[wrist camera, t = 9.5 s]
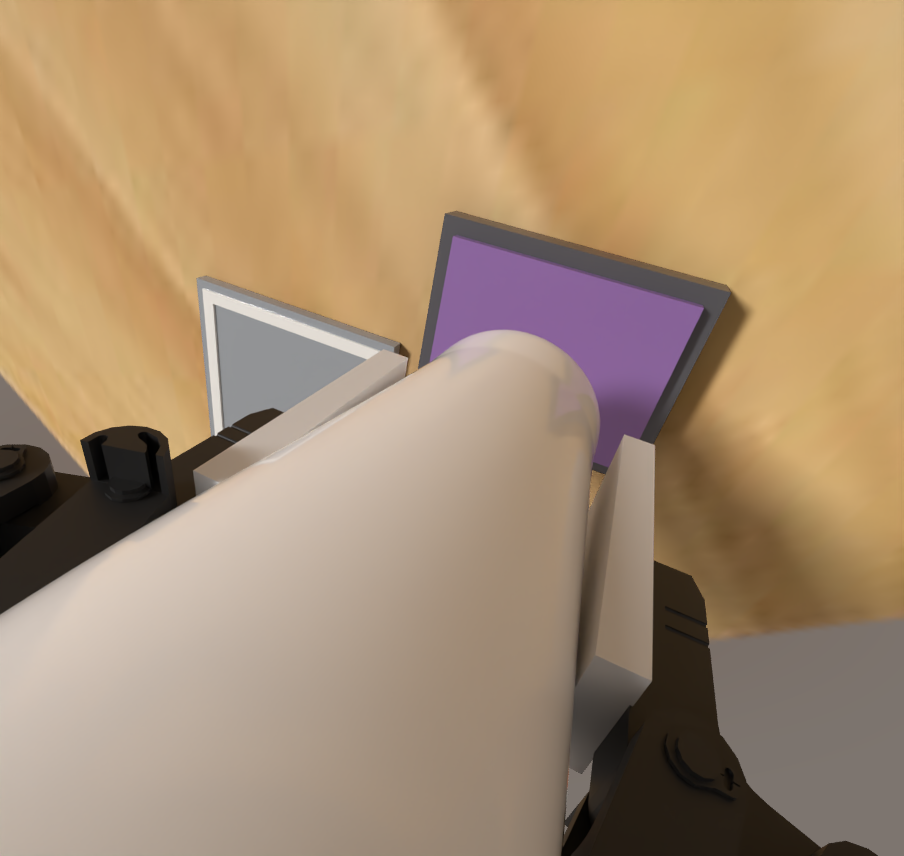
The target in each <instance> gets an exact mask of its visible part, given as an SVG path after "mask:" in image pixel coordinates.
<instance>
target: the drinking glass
mask: <svg viewBox="0 0 904 856" xmlns="http://www.w3.org/2000/svg"><path fill="white" fill-rule="evenodd" d="M599 434H600V412H599V406H598V401H597V398H596V395H595V392H594V390H593V387H592V385H591V383H590V381H589V380H588V378H587V376H586V375H585V373H584V372H583V370H582V369H581V367H580V366H579V365H578V364H577V363H576V362H575V361H574V360H573V359H572V358H571V357H570V356H569V355H568V354H567V353H566V352H565V351H563V350H562V349H561V348H559V347H558V346H556V345H555V344H553V343H551V342H549V341H548V340H546V339H544V338H541V337H539V336H536V335H533V334H530V333H527V332H522V331H517V330H489V331H484V332H480V333H476V334H473V335H470V336H468V337H466V338H463V339H462V340H460V341H458V342H456V343H455V344H453V345H452V346H450V347H449V348H448V349H446V350H445V351H444V352H442V353H441V354H440V355H439V356H437V357H436V358H435V359H434V360H432V361H431V362H430V363H428V364H426V365H425V366H423V367H421V368H420V369H418V370H416V371H415V372H413V373H411V374H410V375H408V376H406V377H404V378H403V379H401V380H399V381H398V382H396V383H394V384H392V385H391V386H389V387H387V388H386V389H384V390H382V391H380V392H379V393H377V394H375V395H373V396H372V397H370V398H368V399H367V400H365V401H363V402H361V403H360V404H358V405H356V406H354V407H353V408H351V409H349V410H347V411H346V412H344V413H342V414H340V415H339V416H337V417H335V418H333V419H332V420H330V421H328V422H326V423H325V424H323V425H321V426H319V427H317V428H316V429H314V430H312V431H310V432H309V433H307V434H305V435H303V436H302V437H300V438H298V439H296V440H294V441H293V442H291V443H289V444H287V445H286V446H284V447H282V448H280V449H278V450H277V451H275V452H273V453H271V454H270V455H268V456H266V457H264V458H263V459H261V460H259V461H257V462H255V463H254V464H252V465H250V466H248V467H247V468H245V469H243V470H241V471H240V472H238V473H236V474H234V475H233V476H231V477H229V478H227V479H225V480H224V481H222V482H220V483H218V484H217V485H215V486H213V487H211V488H210V489H208V490H206V491H204V492H202V493H201V494H199V495H197V496H195V497H194V498H192V499H190V500H188V501H187V502H185V503H183V504H181V505H180V506H178V507H176V508H175V509H173V510H171V511H169V512H168V513H166V514H164V515H162V516H161V517H159V518H157V519H156V520H154V521H152V522H150V523H149V524H147V525H145V526H143V527H142V528H140V529H138V530H137V531H135V532H133V533H131V534H130V535H128V536H126V537H124V538H123V539H121V540H119V541H118V542H116V543H114V544H113V545H111V546H109V547H108V548H106V549H104V550H103V551H101V552H99V553H98V554H96V555H95V556H93V557H91V558H90V559H88V560H86V561H85V562H83V563H81V564H80V565H78V566H76V567H75V568H73V569H71V570H70V571H68V572H66V573H65V574H63V575H61V576H60V577H58V578H57V579H55V580H53V581H52V582H50V583H49V584H47V585H45V586H44V587H42V588H41V589H39V590H38V591H36V592H34V593H33V594H31V595H30V596H28V597H26V598H25V599H23V600H22V601H20V602H18V603H17V604H15V605H14V606H12V607H11V608H9V609H7V610H6V611H4V612H3V613H1V614H0V856H562V851H563V839H564V827H565V814H566V802H567V790H568V778H569V766H570V752H571V739H572V725H573V711H574V698H575V684H576V670H577V656H578V642H579V628H580V615H581V601H582V588H583V575H584V562H585V549H586V536H587V524H588V512H589V500H590V489H591V478H592V468H593V462H594V458H595V453H596V449H597V445H598V440H599Z"/></svg>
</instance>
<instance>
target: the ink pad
mask: <svg viewBox="0 0 904 856" xmlns="http://www.w3.org/2000/svg"><path fill="white" fill-rule="evenodd" d="M730 294H731V291H730V290H729V288H728V286H727V285H724V284H720V283H717V282H713V281H709V280H706V279H702V278H698V277H695V276H691V275H687V274H684V273H680V272H676V271H673V270H669V269H666V268H662V267H658V266H655V265H651V264H647V263H644V262H640V261H636V260H633V259H629V258H626V257H622V256H618V255H615V254H611V253H607V252H604V251H600V250H596V249H593V248H589V247H585V246H582V245H578V244H575V243H571V242H567V241H564V240H560V239H556V238H553V237H549V236H545V235H542V234H538V233H534V232H531V231H527V230H524V229H520V228H516V227H513V226H509V225H505V224H502V223H498V222H494V221H491V220H487V219H483V218H480V217H476V216H473V215H469V214H465V213H462V212H458V211H455V212H450V213H445V216H444V222H443V228H442V234H441V239H440V245H439V251H438V257H437V262H436V268H435V274H434V280H433V286H432V291H431V297H430V303H429V309H428V314H427V320H426V326H425V332H424V337H423V343H422V349H421V355H420V360H419V366H418V369H420V368H421V367H423V366H425V365H426V364H428V363H430V362H431V361H432V360H434V359H435V358H436V357H437V356H439V355H440V354H441V353H442V352H444V351H445V350H446V349H448V348H449V347H450V346H452V345H453V344H455V343H456V342H458V341H460V340H462V339H463V338H466V337H468V336H470V335H473V334H476V333H480V332H484V331H489V330H517V331H522V332H527V333H530V334H533V335H536V336H539V337H541V338H544V339H546V340H548V341H549V342H551V343H553V344H555V345H556V346H558V347H559V348H561V349H562V350H563V351H565V352H566V353H567V354H568V355H569V356H570V357H571V358H572V359H573V360H574V361H575V362H576V363H577V364H578V365H579V366H580V367H581V369H582V370H583V372H584V373H585V375H586V376H587V378H588V380H589V381H590V383H591V385H592V387H593V390H594V392H595V395H596V398H597V401H598V406H599V412H600V434H599V440H598V445H597V449H596V453H595V458H594V462H593V468H592V470H595V471H597V472H600V473H603V474H606V472H607V470H608V468H609V466H610V464H611V462H612V460H613V458H614V455H615V453H616V451H617V449H618V447H619V445H620V443H621V440H622V438H623V436H624V434H625V435H628V436H630V437H633V438H636V439H639V440H642V441H644V442H647V443H650V444H654V442H655V440H656V438H657V436H658V434H659V432H660V430H661V428H662V426H663V424H664V422H665V420H666V418H667V417H668V415H669V413H670V411H671V409H672V407H673V405H674V403H675V401H676V399H677V397H678V395H679V393H680V391H681V389H682V387H683V385H684V384H685V382H686V380H687V378H688V376H689V374H690V372H691V370H692V368H693V366H694V364H695V362H696V360H697V358H698V356H699V354H700V352H701V351H702V349H703V347H704V345H705V343H706V341H707V339H708V337H709V335H710V333H711V331H712V329H713V327H714V325H715V323H716V321H717V319H718V318H719V316H720V314H721V312H722V310H723V308H724V306H725V304H726V302H727V300H728V298H729V296H730Z"/></svg>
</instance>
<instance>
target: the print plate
mask: <svg viewBox="0 0 904 856" xmlns="http://www.w3.org/2000/svg"><path fill="white" fill-rule="evenodd" d="M197 288H198V298H199V309H200V320H201V331H202V342H203V353H204V363H205V374H206V385H207V396H208V407H209V418H210V428H211V436H213V435H214V436H216V435H217V433H218V432H220V431H222V430H223V429H225V428H227V427H228V426H229V427H231V426H232V424H234V423H235V422H237V421H239V420H240V419H242V418H244V417H245V416H247V415H249V414H251V413H255V412H259V411H262V410H266V409H270V408H275V409H277V410H280V411H282V412H286V411H287V410H289V409H290V408H292V407H294V406H295V405H297V404H298V403H300V402H301V401H303V400H305V399H306V398H308V397H309V396H311V395H312V394H314V393H316V392H317V391H319V390H320V389H322V388H323V387H325V386H327V385H328V384H330V383H331V382H333V381H334V380H336V379H338V378H339V377H341V376H342V375H344V374H345V373H347V372H349V371H350V370H352V369H353V368H355V367H356V366H358V365H360V364H361V363H363V362H364V361H366V360H367V359H369V358H371V357H372V356H374V355H375V354H377V353H378V352H380V351H382V350H383V349H385V350H387V351H390V352H393V353H396V354H399V350H400V343H398V342H396V341H393V340H390V339H387V338H384V337H381V336H378V335H375V334H372V333H370V332H367V331H364V330H361V329H358V328H355V327H352V326H349V325H347V324H344V323H341V322H338V321H335V320H332V319H329V318H326V317H324V316H321V315H318V314H315V313H312V312H309V311H306V310H303V309H300V308H298V307H295V306H292V305H289V304H286V303H283V302H280V301H277V300H275V299H272V298H269V297H266V296H263V295H260V294H257V293H254V292H252V291H249V290H246V289H243V288H240V287H237V286H234V285H231V284H228V283H226V282H223V281H220V280H217V279H214V278H211V277H208V276H203V277H198V278H197Z"/></svg>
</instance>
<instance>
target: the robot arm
mask: <svg viewBox="0 0 904 856" xmlns="http://www.w3.org/2000/svg"><path fill="white" fill-rule="evenodd" d="M407 361H408V358H407V357H404V356H402V355H399V354H396V353H393V352H390V351H387V350H385V349H383V350H382V351H380V352H378V353H377V354H375V355H374V356H372V357H371V358H369V359H367V360H366V361H364V362H363V363H361V364H360V365H358V366H356V367H355V368H353V369H352V370H350V371H349V372H347V373H345V374H344V375H342V376H341V377H339V378H338V379H336V380H334V381H333V382H331V383H330V384H328V385H327V386H325V387H323V388H322V389H320V390H319V391H317V392H316V393H314V394H312V395H311V396H309V397H308V398H306V399H305V400H303V401H301V402H300V403H298V404H297V405H295V406H294V407H292V408H290V409H289V410H287V411H286V412H282V411H280V410H277V409H275V408H270V409H266V410H262V411H259V412H255V413H251V414H249V415H247V416H245V417H244V418H242V419H240V420H239V421H237V422H235V423H234V424H232V426H231V427H229V426H228V427H227V428H225V429H223V430H222V431H220V432H218V433H217V435H216V436H214V435H213V436H211V437H210V438H208V439H206V440H205V441H203V442H201V443H199V444H198V445H196V446H194V447H193V448H191V449H189V450H188V451H186V452H184V453H182V454H181V455H179V456H177V457H176V458H174V459H172V460H171V458H170V451H169V444H168V438H167V437H165V436H164V435H163V434H162V433H161V432H160V431H157V430H154V429H151V428H148V427H140V426H122V427H112V428H109V429H105V430H102V431H98V432H95V433H93V434H91V435H89V436H87V437H85V438H84V439H82V440H80V441H81V445H82V449H83V452H84V456H85V460H86V464H87V468H88V471H89V475H90V477H84V476H77V475H71V474H65V473H58V472H54V469H53V466H52V463H51V460H50V457H49V454H48V453H47V452H45V451H44V450H43V449H41V448H39V447H35V446H30V445H2V446H0V614H1V613H3V612H4V611H6V610H7V609H9V608H11V607H12V606H14V605H15V604H17V603H18V602H20V601H22V600H23V599H25V598H26V597H28V596H30V595H31V594H33V593H34V592H36V591H38V590H39V589H41V588H42V587H44V586H45V585H47V584H49V583H50V582H52V581H53V580H55V579H57V578H58V577H60V576H61V575H63V574H65V573H66V572H68V571H70V570H71V569H73V568H75V567H76V566H78V565H80V564H81V563H83V562H85V561H86V560H88V559H90V558H91V557H93V556H95V555H96V554H98V553H99V552H101V551H103V550H104V549H106V548H108V547H109V546H111V545H113V544H114V543H116V542H118V541H119V540H121V539H123V538H124V537H126V536H128V535H130V534H131V533H133V532H135V531H137V530H138V529H140V528H142V527H143V526H145V525H147V524H149V523H150V522H152V521H154V520H156V519H157V518H159V517H161V516H162V515H164V514H166V513H168V512H169V511H171V510H173V509H175V508H176V507H178V506H180V505H181V504H183V503H185V502H187V501H188V500H190V499H192V498H194V497H195V496H197V495H199V494H201V493H202V492H204V491H206V490H208V489H210V488H211V487H213V486H215V485H217V484H218V483H220V482H222V481H224V480H225V479H227V478H229V477H231V476H233V475H234V474H236V473H238V472H240V471H241V470H243V469H245V468H247V467H248V466H250V465H252V464H254V463H255V462H257V461H259V460H261V459H263V458H264V457H266V456H268V455H270V454H271V453H273V452H275V451H277V450H278V449H280V448H282V447H284V446H286V445H287V444H289V443H291V442H293V441H294V440H296V439H298V438H300V437H302V436H303V435H305V434H307V433H309V432H310V431H312V430H314V429H316V428H317V427H319V426H321V425H323V424H325V423H326V422H328V421H330V420H332V419H333V418H335V417H337V416H339V415H340V414H342V413H344V412H346V411H347V410H349V409H351V408H353V407H354V406H356V405H358V404H360V403H361V402H363V401H365V400H367V399H368V398H370V397H372V396H373V395H375V394H377V393H379V392H380V391H382V390H384V389H386V388H387V387H389V386H391V385H392V384H394V383H396V382H398V381H399V380H401V379H403V378H404V377H405V374H406V368H407ZM654 487H655V445H653V444H650V443H647V442H644V441H642V440H639V439H636V438H633V437H630V436H628V435H625V434H624V436H623V438H622V440H621V443H620V445H619V447H618V449H617V451H616V453H615V455H614V458H613V460H612V462H611V464H610V466H609V468H608V470H607V472H606V475H605V477H604V479H603V481H602V483H601V485H600V487H599V490H598V492H597V494H596V496H595V498H594V500H593V502H592V505H591V507H590V509H589V512H588V524H587V536H586V549H585V562H584V575H583V588H582V601H581V615H580V628H579V642H578V656H577V670H576V684H575V698H574V711H573V725H572V739H571V752H570V766H569V768H571V769H573V770H575V771H576V772H578V773H581V774H582V773H583V772H584V770H585V769H586V768H587V766H588V765H589V764H590V762H591V761H592V760H593V764H592V773H591V782H590V791H589V792H588V793H587V794H586V796H585V797H584V798H583V799H582V801H581V802H580V803H579V804H578V806H577V807H576V808H575V809H574V810H573V812H572V813H571V814H570V815H569V817H568V818H567V819H566V820H565V825H566V826H567V827H568V828H567V830H566V832H565V834H564V839H563V851H562V856H878V855H876V854H875V853H873V852H872V851H870V850H869V849H867V848H864V847H861V846H859V845H856V844H853V843H850V842H847V841H842V842H835V843H829V844H827V845H826V846H824V847H822V848H821V847H819V846H818V845H817V844H816V843H814V842H813V841H812V840H811V839H810V838H808V837H807V836H806V835H805V834H803V833H802V832H801V831H800V830H798V829H797V828H796V827H795V826H793V825H792V824H791V823H790V822H788V821H787V820H786V819H785V818H784V817H782V816H781V815H780V814H779V813H777V812H776V811H775V810H774V809H773V808H771V807H770V806H769V805H768V804H767V803H766V802H765V801H764V800H762V799H761V798H760V797H759V796H758V795H757V794H756V793H755V792H754V791H753V790H752V789H751V788H750V787H749V785H748V784H747V783H746V779H745V777H744V774H743V771H742V769H741V766H740V764H739V761H738V758H737V757H736V756H735V754H734V753H733V751H732V750H731V748H730V747H729V745H728V744H727V743H726V741H725V740H724V738H723V737H722V736H721V735H720V732H719V727H718V721H717V711H716V702H715V693H714V683H713V674H712V665H711V655H710V649H709V648H708V645H709V637H708V628H706V625H707V618H706V609H705V600H704V598H703V597H702V595H701V593H700V591H699V589H698V587H697V585H696V584H695V582H694V580H693V578H692V576H690V575H688V574H685V573H683V572H680V571H678V570H676V569H673V568H671V567H668V566H666V565H663V564H661V563H658V562H656V561H654Z"/></svg>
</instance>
